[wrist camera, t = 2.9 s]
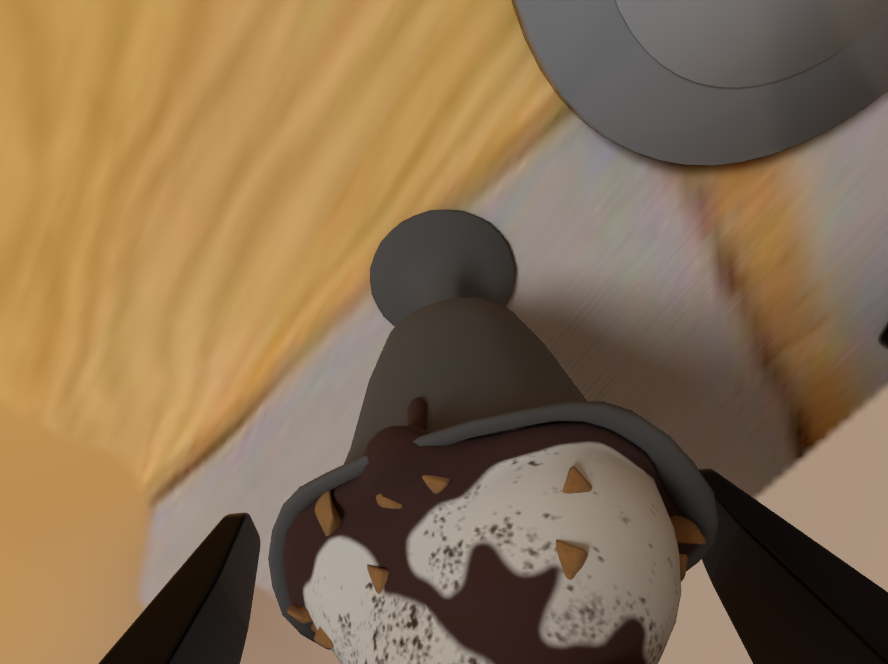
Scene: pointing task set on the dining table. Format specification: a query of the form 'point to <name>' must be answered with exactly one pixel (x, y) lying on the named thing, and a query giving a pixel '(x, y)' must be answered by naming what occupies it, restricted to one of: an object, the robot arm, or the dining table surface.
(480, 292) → the sundae
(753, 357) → the dining table surface
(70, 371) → the dining table surface
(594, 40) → the slate plate
